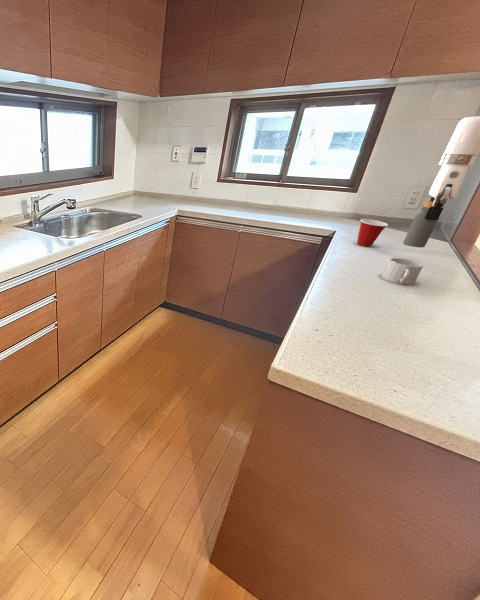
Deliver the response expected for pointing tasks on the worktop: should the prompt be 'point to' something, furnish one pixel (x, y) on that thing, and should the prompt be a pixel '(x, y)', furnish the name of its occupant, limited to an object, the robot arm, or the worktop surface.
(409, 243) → the bottle
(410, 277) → the mug
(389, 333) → the worktop surface
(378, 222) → the plastic cup
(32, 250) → the worktop surface
